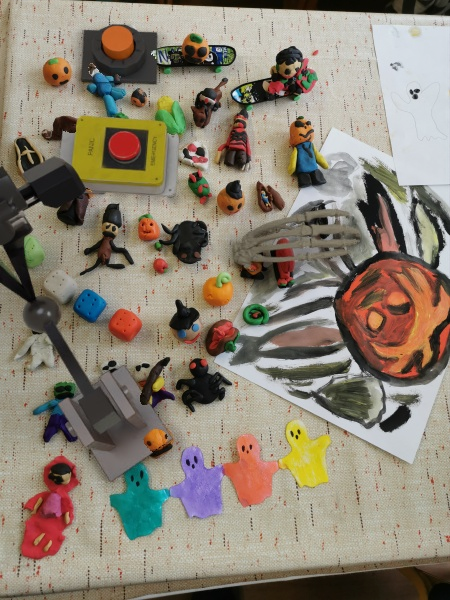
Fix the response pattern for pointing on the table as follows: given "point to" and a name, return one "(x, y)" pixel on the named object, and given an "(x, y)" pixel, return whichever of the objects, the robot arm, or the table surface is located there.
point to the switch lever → (70, 362)
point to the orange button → (117, 42)
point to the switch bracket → (123, 435)
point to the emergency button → (123, 155)
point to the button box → (131, 69)
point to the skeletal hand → (250, 252)
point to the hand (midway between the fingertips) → (31, 299)
